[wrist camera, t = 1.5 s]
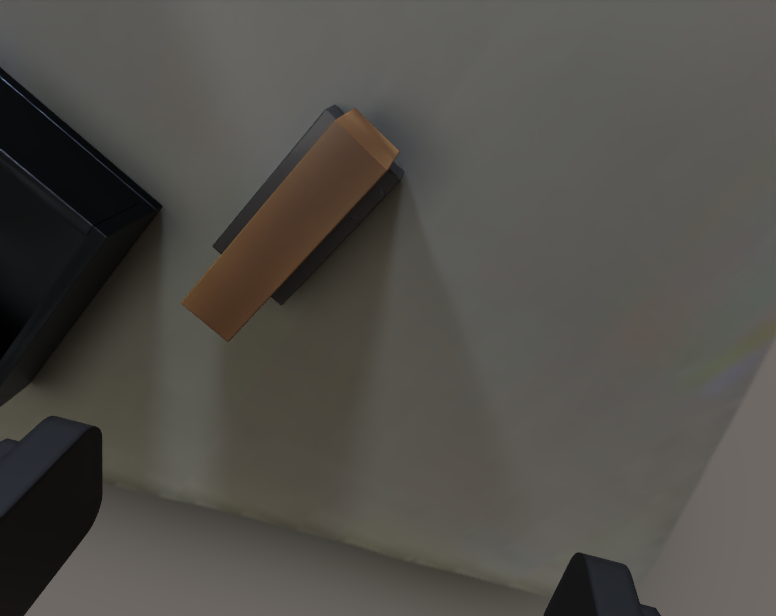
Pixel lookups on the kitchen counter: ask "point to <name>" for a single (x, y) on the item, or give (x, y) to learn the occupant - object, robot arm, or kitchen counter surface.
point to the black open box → (54, 231)
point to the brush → (296, 219)
